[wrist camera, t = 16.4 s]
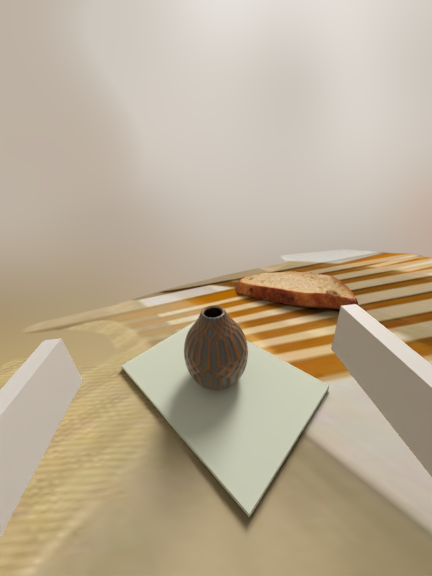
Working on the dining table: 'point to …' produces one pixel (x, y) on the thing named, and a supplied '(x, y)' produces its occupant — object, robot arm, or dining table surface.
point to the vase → (215, 349)
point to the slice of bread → (297, 289)
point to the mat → (231, 413)
